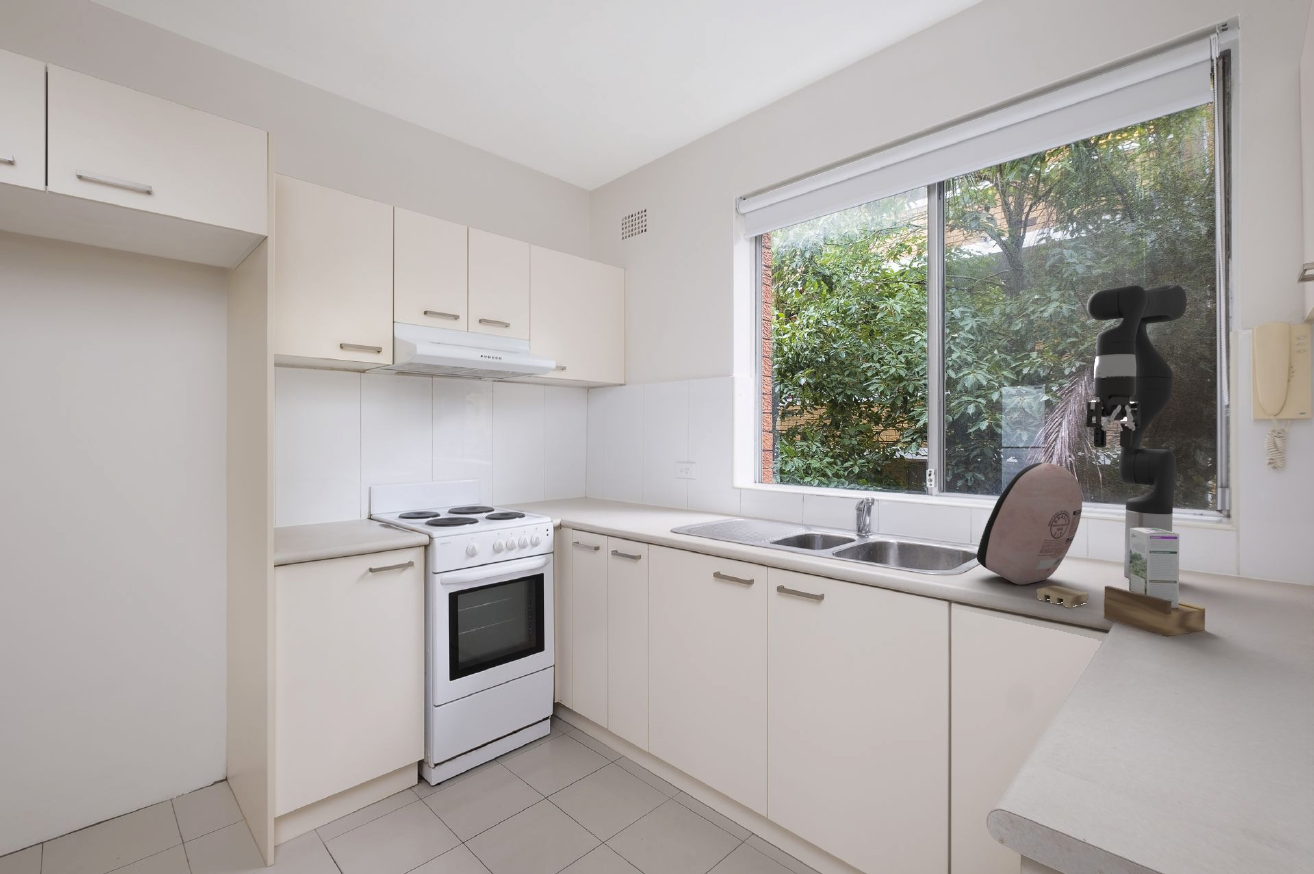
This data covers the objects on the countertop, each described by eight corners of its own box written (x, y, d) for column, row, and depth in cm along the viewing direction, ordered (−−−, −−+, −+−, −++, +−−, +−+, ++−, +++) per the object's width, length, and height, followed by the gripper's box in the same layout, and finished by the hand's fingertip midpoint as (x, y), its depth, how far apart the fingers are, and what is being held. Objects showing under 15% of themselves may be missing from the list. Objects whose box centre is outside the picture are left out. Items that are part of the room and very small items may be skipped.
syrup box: (1180, 608, 112) (1182, 532, 111) (1145, 606, 113) (1147, 531, 112) (1159, 600, 117) (1161, 527, 117) (1126, 598, 118) (1128, 526, 118)
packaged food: (1013, 568, 160) (1015, 458, 159) (1095, 585, 143) (1098, 463, 142) (964, 578, 149) (967, 460, 148) (1048, 598, 132) (1051, 465, 131)
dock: (1140, 612, 122) (1141, 582, 122) (1204, 630, 111) (1205, 596, 111) (1103, 617, 118) (1104, 586, 118) (1166, 636, 108) (1167, 601, 108)
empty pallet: (1053, 595, 134) (1053, 585, 134) (1088, 603, 128) (1088, 593, 128) (1036, 599, 130) (1036, 589, 130) (1071, 608, 124) (1071, 597, 124)
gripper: (1118, 378, 139) (1117, 446, 139) (1075, 376, 134) (1074, 446, 135) (1154, 375, 132) (1152, 447, 132) (1110, 373, 127) (1108, 447, 127)
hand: (1113, 447), depth 133 cm, fingers open, 8 cm apart
